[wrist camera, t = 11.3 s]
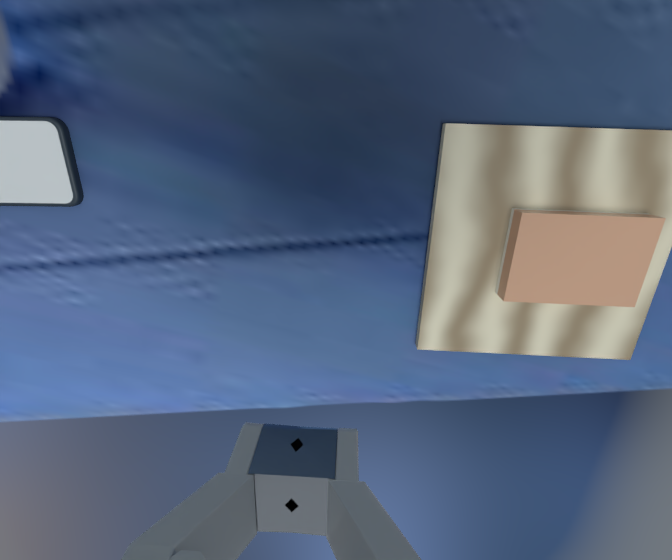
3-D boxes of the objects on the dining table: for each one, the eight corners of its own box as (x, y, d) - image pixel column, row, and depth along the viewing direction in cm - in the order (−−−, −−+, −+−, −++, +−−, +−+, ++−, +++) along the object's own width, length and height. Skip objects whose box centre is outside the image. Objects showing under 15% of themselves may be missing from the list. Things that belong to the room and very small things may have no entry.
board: (415, 343, 44) (417, 349, 43) (442, 123, 35) (445, 123, 34) (622, 354, 43) (630, 359, 42) (701, 132, 35) (713, 131, 34)
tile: (522, 212, 35) (665, 218, 34) (511, 208, 37) (646, 213, 36) (503, 301, 38) (634, 307, 37) (495, 292, 40) (618, 297, 40)
